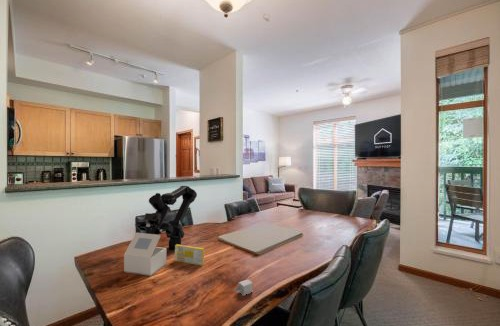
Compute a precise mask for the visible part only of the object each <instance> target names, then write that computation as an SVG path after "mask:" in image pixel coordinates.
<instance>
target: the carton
mask: <svg viewBox="0 0 500 326" xmlns="http://www.w3.org/2000/svg"><path fill="white" fill-rule="evenodd" d="M123 264H124V265H123V272H124V273H127V274H135V275H141V276H142V275H143V276H148V277H151V276H153V275H154V274H156V272H158V271H159V270H160V269H162V268H164V267H165V266H166V265H167V248H166V247H161V246H160V247H158V246H156V247H155V249H154V252H153V254H152V256H151V258H144V257H136V256H128V255H124V254H123Z"/></svg>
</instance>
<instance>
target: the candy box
mask: <svg viewBox="0 0 500 326" xmlns="http://www.w3.org/2000/svg"><path fill="white" fill-rule="evenodd" d="M174 262H179V263H184V264H189V265H196V266H201V267H202V266H204V263H205V248H204V247H198V246H192V245H191V246H190V245H186V244H185V245H184V244H181V245H179V244H177V245H175V249H174Z"/></svg>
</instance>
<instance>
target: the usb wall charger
mask: <svg viewBox="0 0 500 326" xmlns="http://www.w3.org/2000/svg"><path fill="white" fill-rule="evenodd" d="M233 291H236V293H237V294H240V293H241V294H242V295H241V294H240V295H241V296H242V297H244V296H246V294H247V295H249V294H252V293H253V291H254V284H253V281H251V280H250V279H248V278H247V279H245V280H242V281H240V282H238V285H237V287H235V288H234V289H233ZM251 292H252V293H251Z"/></svg>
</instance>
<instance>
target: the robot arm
mask: <svg viewBox="0 0 500 326" xmlns="http://www.w3.org/2000/svg"><path fill="white" fill-rule="evenodd" d="M197 195H198V193H197V192H196V190H195V189H193V188H191V187H190V186H188V185H180V187H178V188H177V189H176V188H175V190H173V191H171V192H166V193H163V194H161V193H158V192H157V193H155V194H154V195H152V196H151V197H149V199H148V203H149V205H150V206H151V207H152V208H153V209H154V210H156V211H155V212H154V213H153V212H152V213H148V212H147V213H146V212H145V214H144V217H143V220H138V221H136V223H135V224H134V226H135V227H136V228H137V229H139V231H142V232H145V233H146V234H156V235H161V234H162V231H164V230H165V235H166V238H168V249H169V250H170V251H171V250H172V251H173V250H174V251H175V245H177V244H179V245H182V239H183V238H184V237H185V232H184V230H183V224H182V223H183V221H184V219H185V217H186V214H187V211H188V210H189V208H190V205H191V204H192V203H194V202H195V200H196V198H197V197H198V196H197ZM180 197H181V198H182V202H181V205H180V206H179V208H178V211H177V213H176V215H175V217H174V219H173V220H169V222H166V220H167V218H166V217H167V215H168V212H169V213H171V211H172V209H171V206H174V205H175V204H176V202H178V201H177V199H179V198H180ZM146 221H147V222H146Z"/></svg>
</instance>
